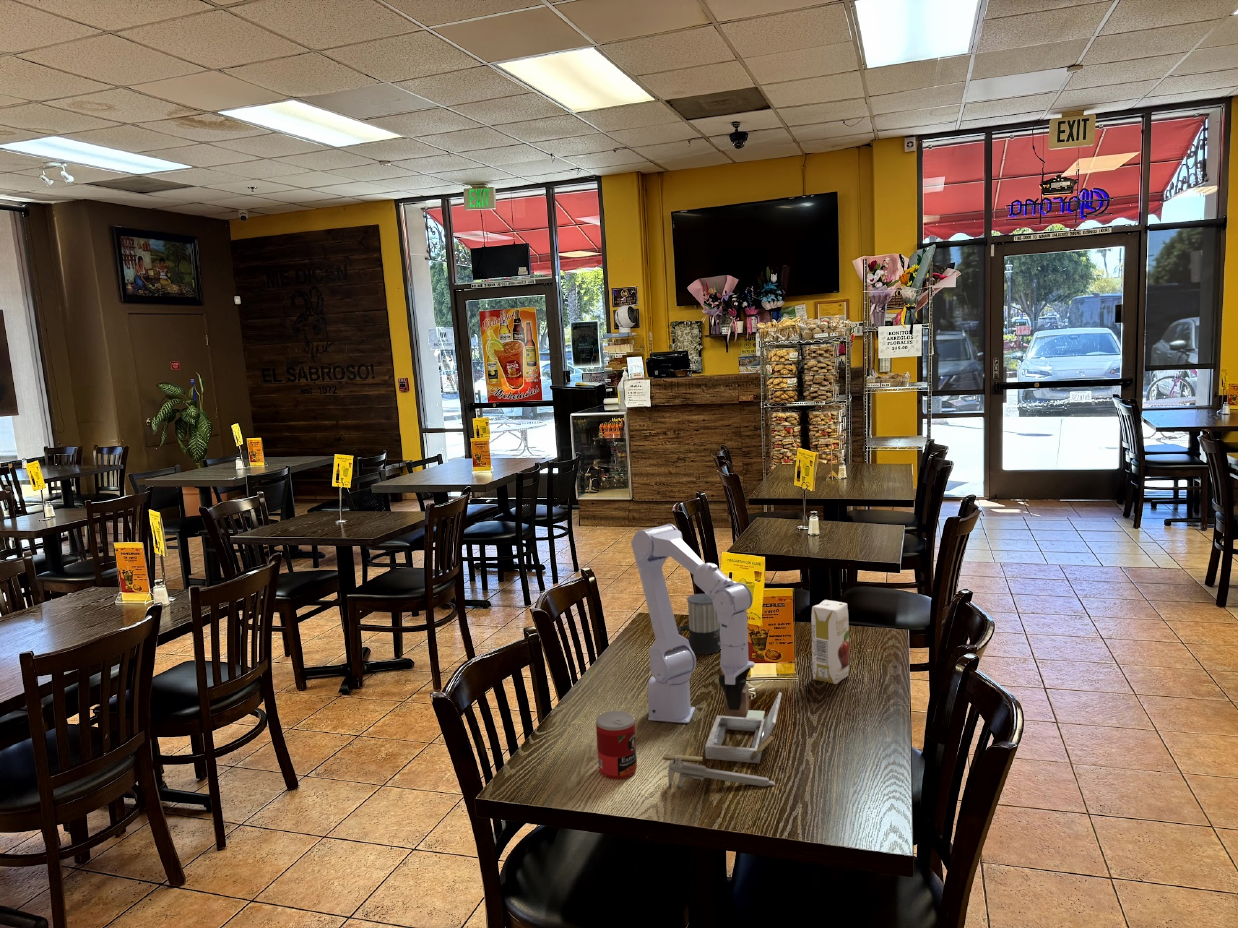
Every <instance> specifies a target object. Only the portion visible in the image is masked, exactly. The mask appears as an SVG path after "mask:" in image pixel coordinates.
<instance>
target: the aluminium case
mask: <svg viewBox="0 0 1238 928" xmlns="http://www.w3.org/2000/svg"><path fill="white" fill-rule="evenodd" d="M764 720H765V718H763V719H760V718H743V717H730V716H725V715H718V714H717V715H716V717H715V720H714V722H713V726H712V728H711V730H710V732H709V736H708V738H707V741H706V744H705V745H704V749H705V750H704V751H705V752H704V753H705V759H708V760H717V761H718V760H720V761H728V762H729V761H731V762H738V763H741V762H742V763H751V764H753V763H754V764H760V763H761V758H762V754H763V750H764V749H763V750H762V751H761V752H760V753H759V755H758V756H757V757H756V758H755V759H754V760H753V761H752V760H751V759H750V757H751V756H752V755H753V754H754V753H755V752H756V750H757V748H758V744H759V740H760V736H761V732H762V728H763V724H764ZM727 730H732V731H733V730H734V731H746V732H754V736H753V740H752V743H751V747H741V746H730V745H722V743H723V741H724V738H725V736H726V735H725V734H726V732H727Z"/></svg>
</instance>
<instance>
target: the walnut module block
mask: <svg viewBox="0 0 1238 928" xmlns="http://www.w3.org/2000/svg"><path fill="white" fill-rule="evenodd" d="M749 690H750V689H749V683H745V685H744V687H743V690H742V697H741V704H740V708H739V710H730V709H729V707H728V703H727V699H726V695H725V692H724V691H723V697H724V698H723V699H724V701H723V704H724V708H723V709H724V716H730V717H743V718H746V717H747V714H748V710H750V697H749V696H750V695H749V694H750V693H749Z"/></svg>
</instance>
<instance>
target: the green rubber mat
mask: <svg viewBox="0 0 1238 928" xmlns="http://www.w3.org/2000/svg"><path fill="white" fill-rule="evenodd" d="M765 714H766V711H765V710H752V709H749V710H748V714H747V717H746V718H760V719H765Z"/></svg>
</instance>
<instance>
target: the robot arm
mask: <svg viewBox="0 0 1238 928" xmlns="http://www.w3.org/2000/svg"><path fill="white" fill-rule="evenodd" d="M630 543H631V547H632V551H633V556H634V560H635V563H636V566H637V569H638V573H639V577H640V581H641V585H642V589H643V593H644V598H645V602H646V605H647V610H648V614H649V617H650V621H651V625H652V630H653V633H654V638H655V640H654V641H653V643H652V644H651V646H650V648H649V649H648V657H649V670H650V673H651V675H652V676H651V677H650V678H649V680H648V687H647V701H648V718H647V719H648V720H649V721H653V722H667V723H679V724H681V723H682V724H689V723H690V721H691V719H692V717H693V715H694V712H695V710H696V707H695V706H691V689H690V688H691V687H690V683H691V682H690V678H691V677H692V672H693V671H695V669H696V666H697V657H696V655H695V654H696V653H694V652H693V651H692V649H691V647H690V642H689V641H688V639H686V638H687V637H686V638H685V637H684V636H682V634H681V635H679V634H678V630H677V628H678V626H677V623H676V619H675V615H674V611H673V607H672V602H671V599H670V595H669V592H668V587H667V585H666V584H667V583H666V580H665V575H664V571H663V566H664V564H665V563H666V560H667V559H669V558H670V557H671V558H672V559H673V560H674V561H675V562H677V563H678V564H679V565H680V566H682V567H683V568H684V569H686V570H687V571H688V572H689V573H691V574H692V575H693V582H694V584H695V585H696V586H697V587H698V588H699V589H700V590H702V591H703V592H704V594H707V595H708V596H709V597H710V598H711V599H712V601H713V606H714V608H715V610H716V612H717V620H718V622H719V623H720V647H721V650H720V661H719V665H720V666H719V667H720V668H721V671H722V672H723V674H724V675H719V677H718V682H719V685H720V686H721V688H722V690H723V693H724V692H725V695H726V699H727V703H728V707H729V709H730V710H739V708H740V704H741V697H742V690H743V687H744V685H745V684H747V683H746V682H747V680H748V679H747V677H748V675H749V674H750V670H751V669H753V668H755V662H754V661H751V660H749V635H748V631H749V630H748V610H749V609H751V607H752V606H753V598H754V597H753V595H752V591H751V590H750V588H749V587H748V586H747V585H746V584H745V583H744V582H736V580H735V581H733V580H732V579H731V578H729V577H728V576H727V575H726V574H725V573H724V572H722V570H720V569H719V567H718V565H717V564H715V563H713V562H706V563H705V562H704V561H703V560H702V559H701V558H700V557H699V556H698V555H697V553H695V551H694V550H693V549H692V548H691V547H690V546H689V545H688V544H687V543H686V542H685V541H684V540H683V534H682V531H680V530H679V529H678V528H677V527H676V526H675V525H674V524H672V523H666V524H664V525H661V526H656V527H651V528H646V529H639V530H636V532H635V533H634V535H633V537H632V540H631V542H630Z"/></svg>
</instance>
